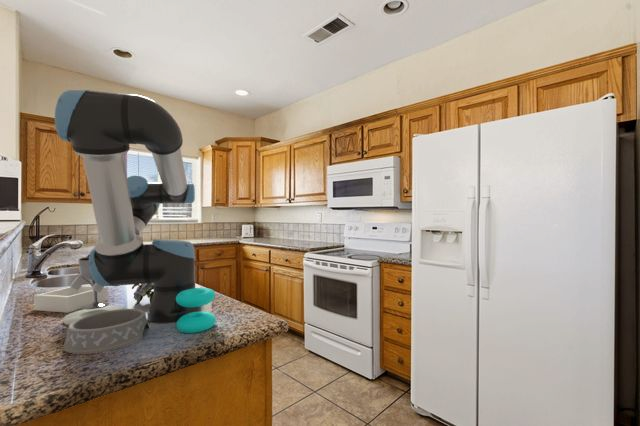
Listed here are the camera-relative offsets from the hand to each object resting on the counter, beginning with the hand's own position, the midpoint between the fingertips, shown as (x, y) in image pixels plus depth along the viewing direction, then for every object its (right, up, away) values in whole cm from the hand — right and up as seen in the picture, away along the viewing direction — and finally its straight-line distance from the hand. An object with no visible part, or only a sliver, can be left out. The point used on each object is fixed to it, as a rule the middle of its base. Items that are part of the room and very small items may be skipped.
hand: (84, 289), depth 94 cm
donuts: (+37, -9, -9) cm, 39 cm away
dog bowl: (+17, -9, -15) cm, 25 cm away
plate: (+2, -9, +2) cm, 9 cm away
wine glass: (+1, -6, +4) cm, 7 cm away
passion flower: (+11, -9, +16) cm, 22 cm away
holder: (-16, -9, +15) cm, 24 cm away
